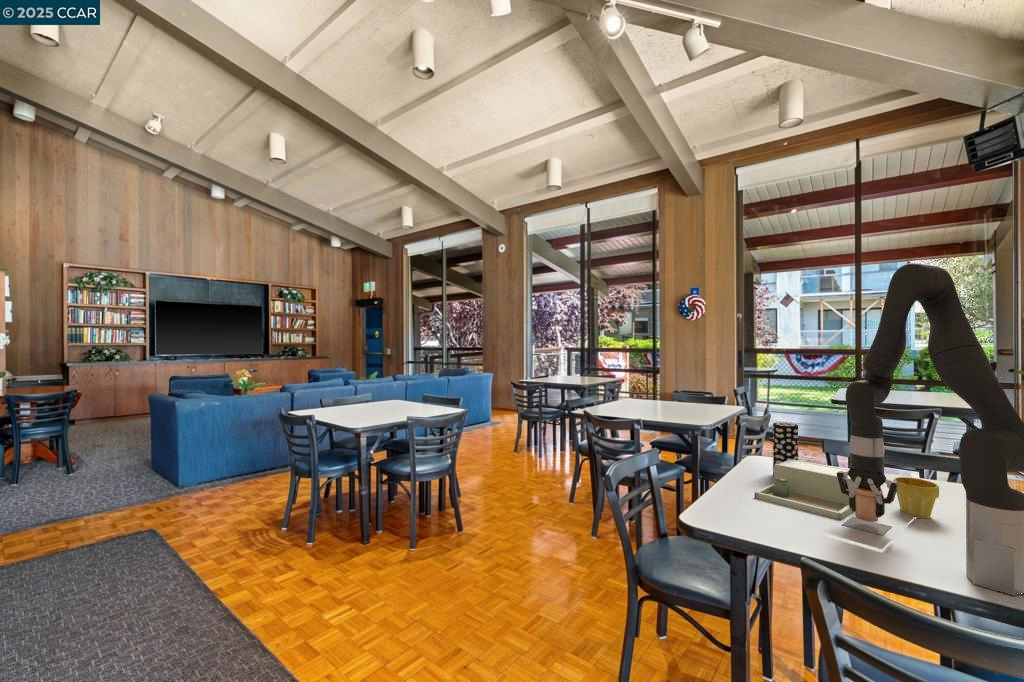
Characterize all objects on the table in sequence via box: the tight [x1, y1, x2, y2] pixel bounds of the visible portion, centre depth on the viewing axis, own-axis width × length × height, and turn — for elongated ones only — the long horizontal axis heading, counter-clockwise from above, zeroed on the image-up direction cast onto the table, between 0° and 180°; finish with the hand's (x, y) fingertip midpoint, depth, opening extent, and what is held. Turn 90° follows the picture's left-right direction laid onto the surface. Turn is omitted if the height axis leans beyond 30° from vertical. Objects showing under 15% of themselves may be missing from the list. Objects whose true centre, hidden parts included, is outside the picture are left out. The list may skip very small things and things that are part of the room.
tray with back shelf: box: [754, 459, 854, 520], centre depth 150 cm, size 28×24×9 cm
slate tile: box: [841, 516, 893, 537], centre depth 127 cm, size 9×9×1 cm
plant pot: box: [892, 476, 940, 519], centre depth 137 cm, size 10×10×10 cm
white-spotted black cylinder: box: [772, 421, 799, 475], centre depth 176 cm, size 8×8×20 cm
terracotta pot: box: [854, 487, 880, 523], centre depth 127 cm, size 6×6×10 cm
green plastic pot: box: [773, 477, 789, 497], centre depth 153 cm, size 4×4×5 cm
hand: (866, 513), depth 127 cm, fingers closed on terracotta pot, 5 cm apart
